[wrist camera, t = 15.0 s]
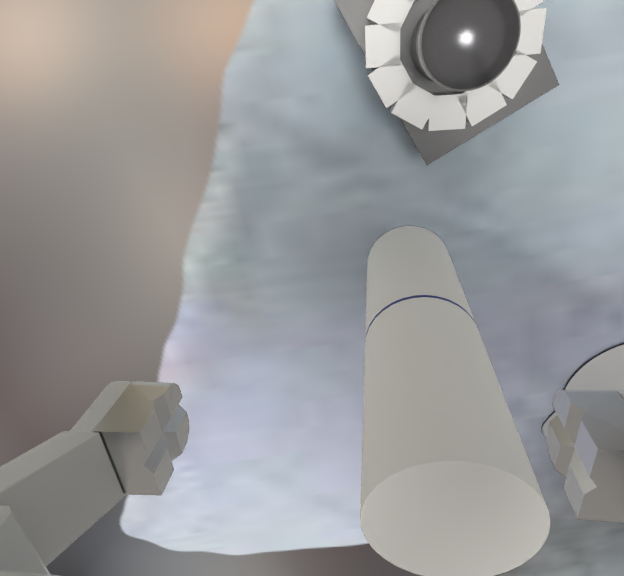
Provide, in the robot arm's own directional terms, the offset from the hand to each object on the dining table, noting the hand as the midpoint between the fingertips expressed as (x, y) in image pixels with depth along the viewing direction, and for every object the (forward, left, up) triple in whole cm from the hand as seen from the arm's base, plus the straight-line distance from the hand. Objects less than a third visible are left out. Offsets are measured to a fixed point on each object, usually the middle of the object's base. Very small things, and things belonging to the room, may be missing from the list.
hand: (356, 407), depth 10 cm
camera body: (+4, -8, -29) cm, 30 cm away
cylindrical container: (-10, +2, -29) cm, 31 cm away
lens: (+4, -8, -24) cm, 26 cm away
